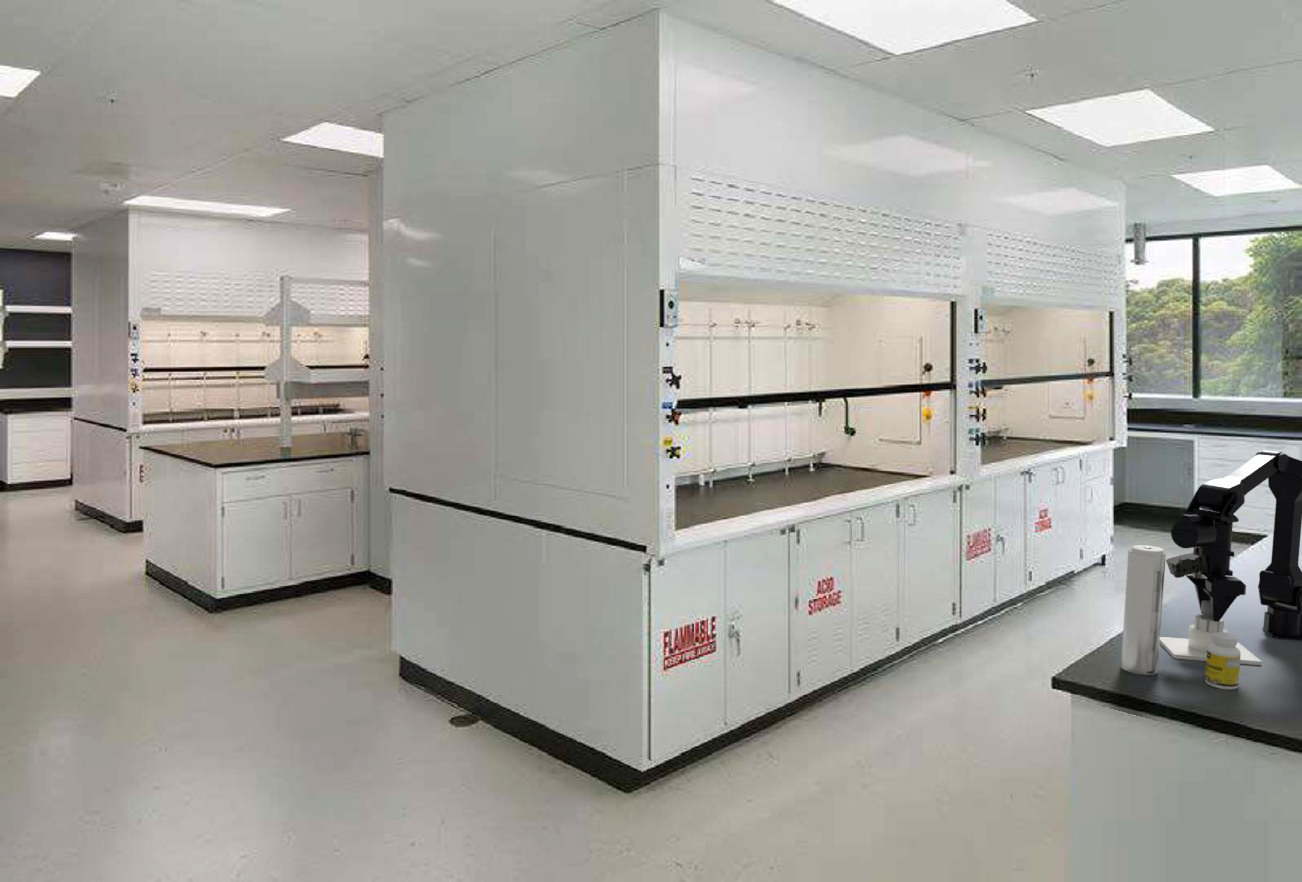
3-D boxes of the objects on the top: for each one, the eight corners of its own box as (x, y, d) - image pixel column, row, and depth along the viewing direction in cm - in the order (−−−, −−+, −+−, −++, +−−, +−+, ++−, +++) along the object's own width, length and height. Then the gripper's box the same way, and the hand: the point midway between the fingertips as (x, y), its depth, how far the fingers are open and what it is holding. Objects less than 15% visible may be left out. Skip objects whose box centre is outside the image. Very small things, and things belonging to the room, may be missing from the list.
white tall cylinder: (1154, 666, 181) (1162, 545, 178) (1160, 677, 175) (1169, 552, 172) (1118, 662, 183) (1125, 542, 180) (1123, 673, 177) (1131, 549, 174)
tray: (1238, 646, 193) (1238, 642, 193) (1261, 665, 182) (1261, 661, 182) (1156, 640, 197) (1156, 636, 197) (1174, 658, 185) (1174, 654, 185)
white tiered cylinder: (1219, 644, 192) (1221, 614, 191) (1232, 655, 185) (1234, 624, 184) (1183, 641, 193) (1185, 611, 193) (1194, 652, 187) (1196, 621, 186)
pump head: (1214, 627, 190) (1216, 600, 189) (1219, 632, 187) (1221, 605, 186) (1197, 626, 191) (1199, 599, 190) (1202, 630, 188) (1204, 603, 187)
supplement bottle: (1198, 680, 173) (1201, 631, 172) (1224, 679, 174) (1228, 630, 173) (1218, 690, 168) (1221, 640, 167) (1245, 690, 169) (1249, 639, 168)
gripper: (1158, 532, 198) (1154, 601, 199) (1187, 551, 180) (1181, 626, 181) (1215, 535, 195) (1209, 605, 197) (1249, 554, 177) (1243, 631, 179)
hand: (1209, 616), depth 189 cm, fingers open, 7 cm apart
